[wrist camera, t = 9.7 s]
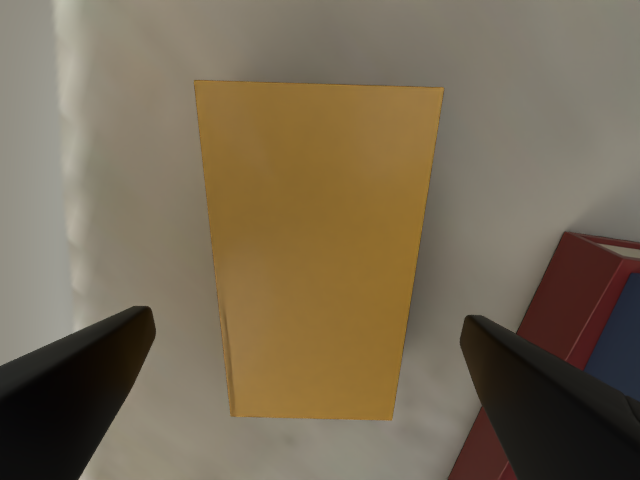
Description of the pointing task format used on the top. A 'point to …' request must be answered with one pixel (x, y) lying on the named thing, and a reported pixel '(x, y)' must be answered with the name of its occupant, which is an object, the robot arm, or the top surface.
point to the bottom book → (559, 328)
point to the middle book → (620, 344)
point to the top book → (315, 238)
